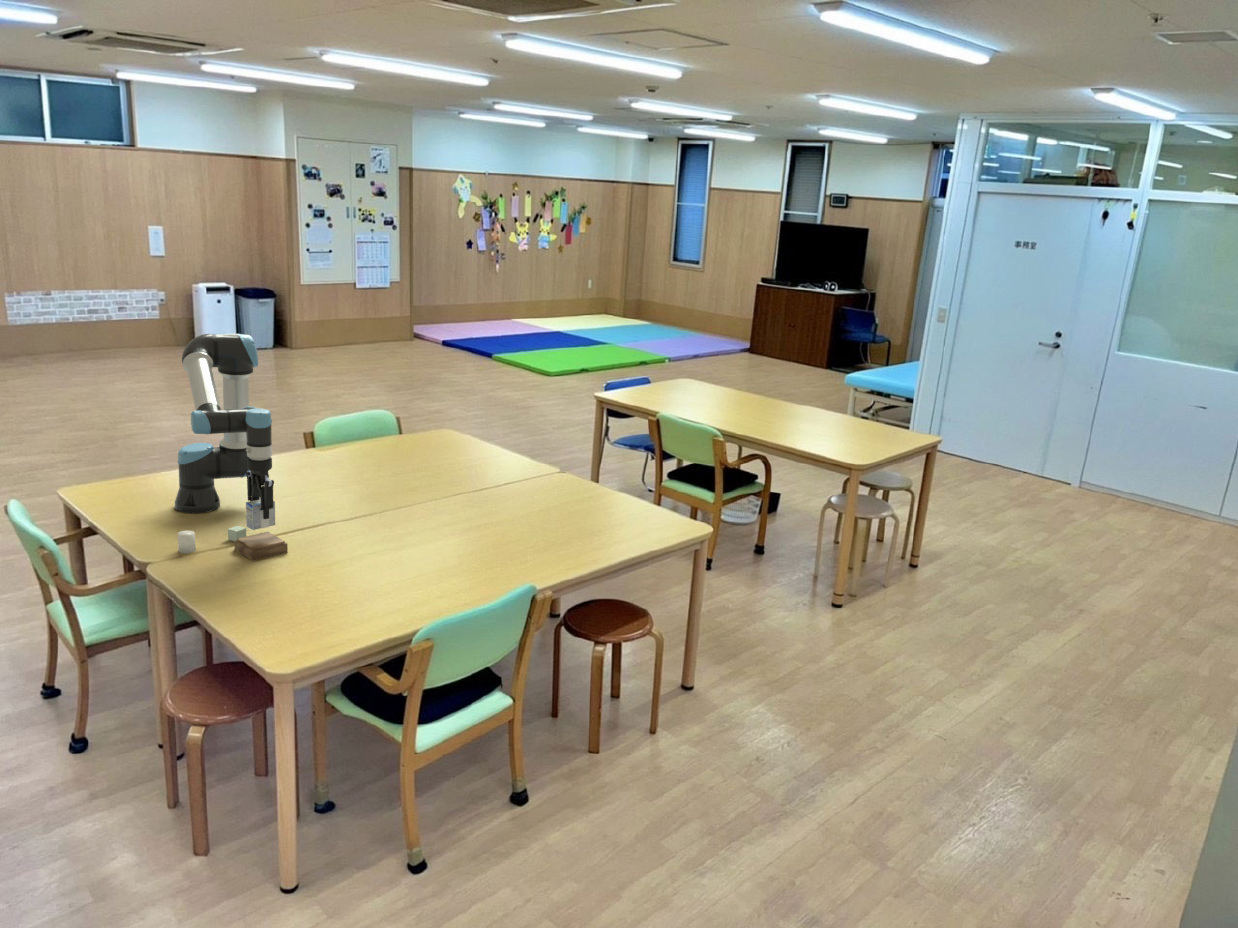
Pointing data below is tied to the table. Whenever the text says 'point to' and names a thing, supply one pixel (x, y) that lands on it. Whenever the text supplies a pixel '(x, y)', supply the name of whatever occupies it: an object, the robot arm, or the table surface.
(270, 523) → the medicine box
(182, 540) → the white rounded capsule
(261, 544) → the podium
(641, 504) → the table surface
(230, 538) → the sage block
